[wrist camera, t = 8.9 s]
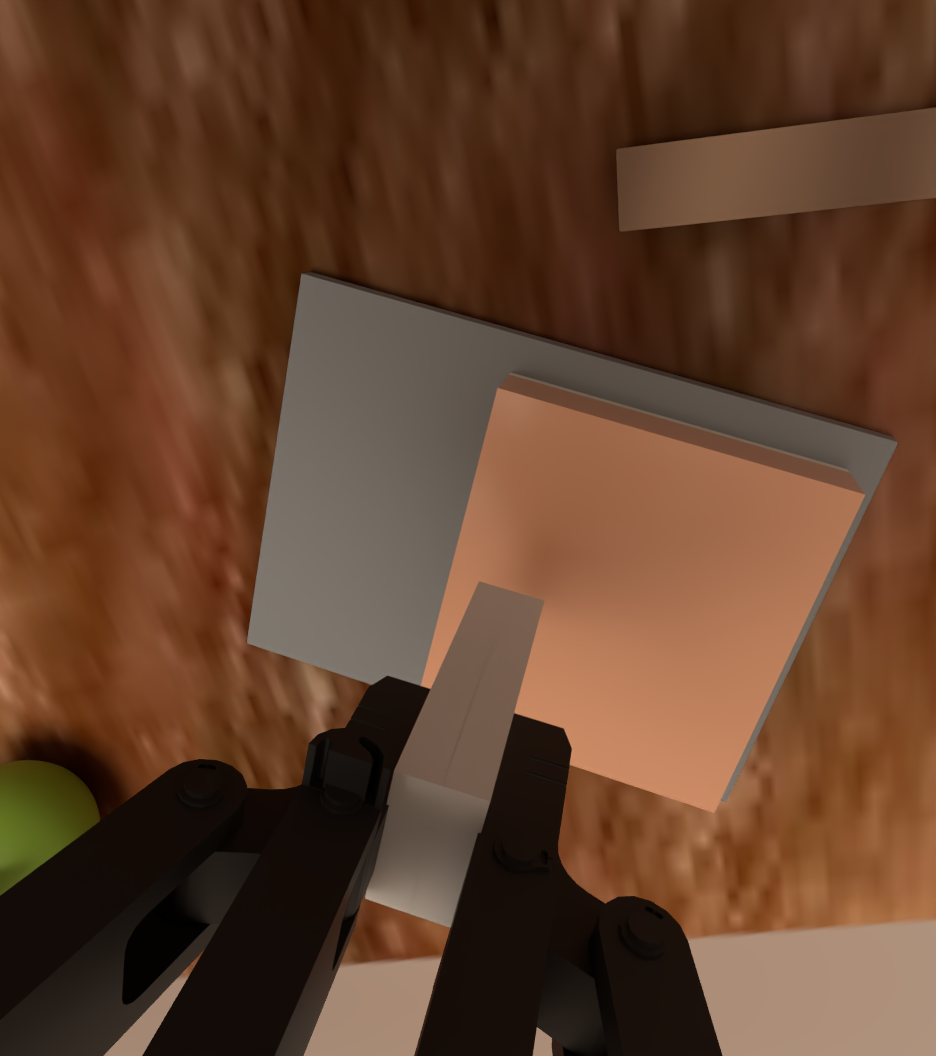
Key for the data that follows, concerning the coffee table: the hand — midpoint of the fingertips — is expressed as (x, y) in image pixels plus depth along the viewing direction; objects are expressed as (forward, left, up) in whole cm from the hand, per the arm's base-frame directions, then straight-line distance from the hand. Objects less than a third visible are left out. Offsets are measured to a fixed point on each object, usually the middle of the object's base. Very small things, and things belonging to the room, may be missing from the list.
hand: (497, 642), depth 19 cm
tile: (-2, 0, -5) cm, 5 cm away
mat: (0, 0, -6) cm, 6 cm away
